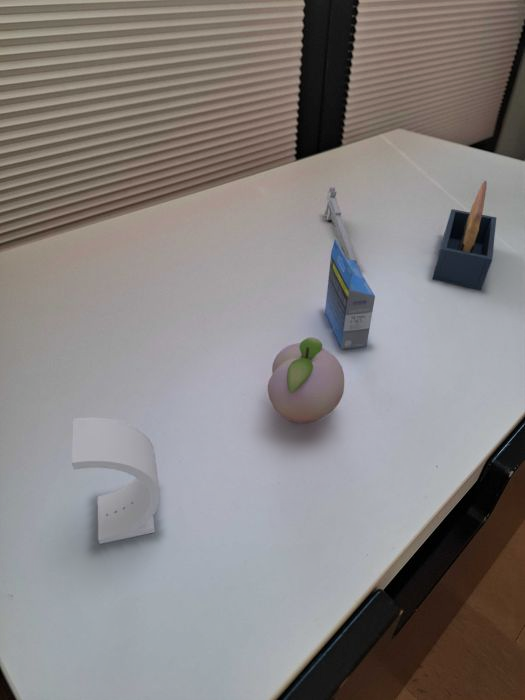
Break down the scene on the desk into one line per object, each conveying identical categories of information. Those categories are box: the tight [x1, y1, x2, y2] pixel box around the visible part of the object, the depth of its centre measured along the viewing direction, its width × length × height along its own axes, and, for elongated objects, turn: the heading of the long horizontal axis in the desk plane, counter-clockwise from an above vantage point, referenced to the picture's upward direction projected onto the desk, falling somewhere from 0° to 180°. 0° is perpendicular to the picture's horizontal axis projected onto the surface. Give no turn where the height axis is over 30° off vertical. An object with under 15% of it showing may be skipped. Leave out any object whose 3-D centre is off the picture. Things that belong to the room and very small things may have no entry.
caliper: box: [324, 187, 359, 268], centre depth 89 cm, size 20×1×6 cm, turn 8°
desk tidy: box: [431, 208, 497, 291], centre depth 85 cm, size 8×16×6 cm, turn 158°
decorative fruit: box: [267, 337, 345, 424], centre depth 56 cm, size 9×8×10 cm
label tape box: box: [324, 236, 376, 350], centre depth 68 cm, size 9×4×12 cm, turn 9°
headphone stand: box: [71, 416, 161, 545], centre depth 45 cm, size 5×6×12 cm
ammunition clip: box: [458, 180, 488, 253], centre depth 82 cm, size 11×2×12 cm, turn 158°
